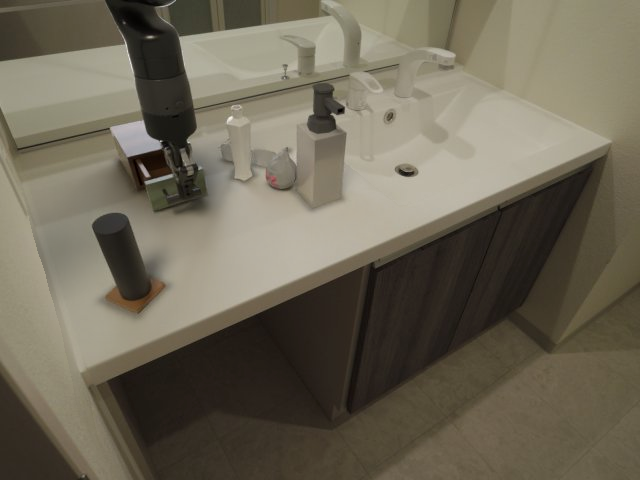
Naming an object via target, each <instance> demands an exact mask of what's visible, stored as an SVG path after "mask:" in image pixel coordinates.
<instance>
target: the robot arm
mask: <svg viewBox="0 0 640 480" xmlns="http://www.w3.org/2000/svg"><path fill="white" fill-rule="evenodd" d="M103 1H104V3H105V5H106V7H107V9H108V11H109V13H110V15H111V17H112V19H113V21H114V24H115V25H116V27H117V29H118V31H119V33H120V34H121V36H122V38H123V40H124V43H125V46H126V51H127V56H128V59H129V63H130V67H131V70H132V74H133V83H134V89H135V93H136V99H137V101H138V105H139V109H140V113H141V117H142V120H143V121H144V124H145V128H146V132H147V134H148V135H149V136H150V137H151V138H153V139H156V140H158V141H159V142H160V146H161V149H162V150H163V153H164V155H165V159H166V163H167V164H168V168H169V169H170V170H172V176H173V177H174V179H175V180H176V185H177V189H178V193H179V196H180V197H181V199H182V200H186V199H190V198H192V197H193V196H194V193H193V188H192V183H193V182H195V181H196V178H197V174H198V167H199V165H198V164H197V163H194V161H193V156H192V154H193V148H192V147H193V146H192V144H191V142H189V141H188V139H189V138H190V137H191V136H192V135H194V134H195V133H196V131H197V128H198V124H197V119H196V118H197V117H196V111H195V105H194V100H193V93H192V89H191V84H190V80H189V77H188V74H187V70H186V65H185V60H184V54H183V53H184V52H183V49H182V48H183V47H182V42H181V38H180V35H179V32H178V30H177V29H176V28H175V26H173V25H172V23H171V24H170V23H169V22H168V21H166V20H164V19H163V18H162V17H161V16H160V14H159V13H158V11H157V9H156V8H163V7H167V6H170V5H172V4H173V3H174V2H176V1H177V0H103Z"/></svg>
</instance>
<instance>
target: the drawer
mask: <svg viewBox="0 0 640 480" xmlns="http://www.w3.org/2000/svg"><path fill="white" fill-rule="evenodd" d="M133 161H134V164H135V167H136V171H137V174H138V177H139V178H140V180H141V182H142V184H143V185H144V187H145V189H144V190H146V193H147V196H148V201H149V203H150V207H151V209H152V211H153V212H155V211H158V210H162V209H165V208H168V207H172V206H175V205H178V204H181V203H185V202H188V201H191V200H195V199H197V198H200V197H204V196H207V195H208V190H207V184H206V177H205V171H204V168H203V167H202V166H201V165H200V166H199V165H198V174H197V178H196V181H195V182H193V183H192V188H193V193H194V196H193V197H192V198H190V199H186V200H182V199H181V197H180V196H179V193H178V189H177V185H176V180H175V179H174V177H173V176H172V170H170V169H169V168H168V164H167V163H166V159H165V155H164V153H163V152H162V153H158V154H154V155H150V156H146V157H142V158H138V159H134V160H133Z"/></svg>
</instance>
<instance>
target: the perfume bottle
mask: <svg viewBox="0 0 640 480" xmlns="http://www.w3.org/2000/svg"><path fill="white" fill-rule="evenodd" d="M230 109H231V116H229V117H228V118H227V120H226V123H225V125H226V130H227V134H228V139H229V140H228V141H229V144H230V146H231V151H232V156H233V161H234V162H233V166H234V179H236V180H241V181H247V180H248V179H250V178H251V177H253V176H254V175H253V172H252V169H251V151H250V150H251V120H250V119H248V118H247V117H246V115H243V106H242V105H240V104H232V105H231V107H230Z"/></svg>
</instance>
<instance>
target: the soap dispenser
mask: <svg viewBox="0 0 640 480" xmlns="http://www.w3.org/2000/svg"><path fill="white" fill-rule="evenodd" d="M312 90H313V100H312V101H313V103H312V111H313V114H310V115H308V118H307V122H302V123H298V124H296V166H297V167H296V181H295V184H296V185H295V187H296V189H295V192H296V193H297V194H298V195H299V196H300V197H301V198H302V199H303V200H304V201H305V202H306V203H307V204H308V205H309V207H311V209H315V208H318V207H320V206H323V205H327V204H330V203H333V202H336V201H340V200H341V199H342V188H343V187H342V186H343V179H344V166H345V155H346V145H347V133H348V132H347V131H346V130H344V129H343V128H342V127H340V126H339V125H338V124H337V120H336V118H335V116H341V115H345V112H346V106H344V105H343V104H342V103H340V102H339V101H337V100H335V99H334V92H335V86H334V85H333V84H331V83H328V82H318V83H316V84H312ZM332 113H333V114H334V115H335V116H334V115H332Z"/></svg>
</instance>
